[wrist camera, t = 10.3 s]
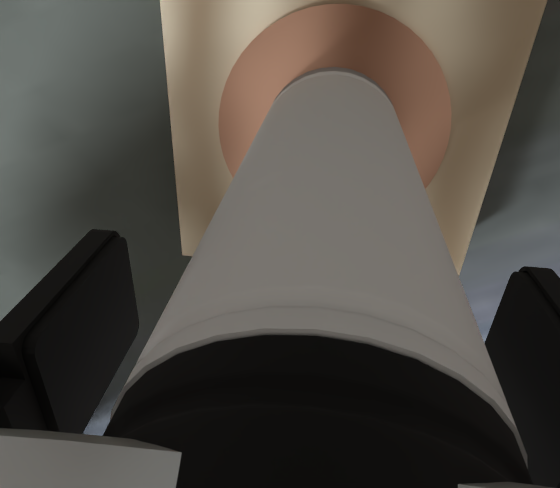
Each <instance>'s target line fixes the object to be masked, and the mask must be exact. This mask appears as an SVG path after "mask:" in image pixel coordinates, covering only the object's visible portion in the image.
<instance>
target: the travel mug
mask: <svg viewBox="0 0 560 488" xmlns="http://www.w3.org/2000/svg"><path fill="white" fill-rule="evenodd" d="M103 436H108V437H117V438H127V439H135V440H138V441H141V442H146V443H150V444H154V445H158V446H161V447H165V448H169V449H172V450H175V451H178V452H182V454H181V460H180V466H179V472H178V477H177V483H176V488H458V484H471V483H495V482H514V483H523V484H530V485H533V482H532V479H531V477H530V474H529V471H528V462H527V453H526V451H525V448H524V445H523V443H522V440H521V438H520V435H519V432H518V430H517V427H516V425H515V422H514V420H513V417H512V415H511V412H510V409H509V407H508V405H507V401H506V399H505V396H504V393H503V391H502V388H501V386H500V383H499V380H498V378H497V375H496V373H495V370H494V367H493V365H492V362H491V360H490V357H489V354H488V352H487V349H486V346H485V344H484V341H483V339H482V336H481V333H480V331H479V328H478V326H477V323H476V320H475V318H474V315H473V313H472V310H471V307H470V305H469V302H468V300H467V297H466V294H465V292H464V289H463V287H462V284H461V281H460V279H459V276H458V274H457V271H456V268H455V266H454V263H453V260H452V258H451V255H450V253H449V250H448V247H447V245H446V242H445V240H444V237H443V234H442V232H441V229H440V227H439V224H438V221H437V219H436V216H435V214H434V211H433V208H432V206H431V203H430V201H429V198H428V195H427V193H426V190H425V188H424V185H423V182H422V180H421V177H420V175H419V172H418V169H417V167H416V164H415V161H414V159H413V156H412V154H411V151H410V148H409V146H408V143H407V141H406V138H405V135H404V133H403V130H402V128H401V125H400V122H399V120H398V117H397V115H396V112H395V109H394V107H393V104H392V102H391V100H390V99H389V97H388V96H387V94H386V93H385V91H384V90H383V89H382V88H381V87H380V86H379V85H378V84H377V83H376V82H375V81H374V80H372V79H371V78H369V77H367V76H366V75H364V74H363V73H360V72H357V71H354V70H352V69H348V68H340V67H326V68H319V69H315V70H312V71H308V72H306V73H304V74H302V75H300V76H298V77H297V78H295V79H294V80H292V81H291V82H290V83H289V84H287V85H286V86H285V87H284V88H283V89H282V91H281V92H280V93H279V94H278V95H277V97H276V98H275V100H274V102H273V104H272V106H271V108H270V110H269V111H268V113H267V115H266V117H265V119H264V121H263V123H262V125H261V127H260V129H259V130H258V132H257V134H256V136H255V138H254V140H253V142H252V144H251V146H250V148H249V149H248V151H247V153H246V155H245V157H244V159H243V161H242V163H241V165H240V167H239V168H238V170H237V172H236V174H235V176H234V178H233V180H232V182H231V184H230V186H229V188H228V189H227V191H226V193H225V195H224V197H223V199H222V201H221V203H220V205H219V207H218V208H217V210H216V212H215V214H214V216H213V218H212V220H211V222H210V224H209V226H208V227H207V229H206V231H205V233H204V235H203V237H202V239H201V241H200V243H199V245H198V246H197V248H196V250H195V252H194V254H193V256H192V258H191V260H190V262H189V264H188V265H187V267H186V269H185V271H184V273H183V275H182V277H181V279H180V281H179V283H178V284H177V286H176V288H175V290H174V292H173V294H172V296H171V298H170V300H169V302H168V304H167V305H166V307H165V309H164V311H163V313H162V315H161V317H160V319H159V321H158V323H157V324H156V326H155V328H154V330H153V332H152V334H151V336H150V338H149V340H148V342H147V343H146V345H145V347H144V349H143V351H142V353H141V355H140V357H139V359H138V361H137V363H136V365H135V367H134V368H133V370H132V372H131V374H130V376H129V378H128V380H127V381H126V383H125V385H124V387H123V389H122V391H121V393H120V395H119V397H118V399H117V401H116V403H115V405H114V406H113V408H112V411H111V418H110V423H109V424H108V426H107V428H106V430H105V432H104V434H103Z"/></svg>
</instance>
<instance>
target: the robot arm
mask: <svg viewBox="0 0 560 488" xmlns="http://www.w3.org/2000/svg"><path fill="white" fill-rule="evenodd" d="M138 328H139V319H138V313H137V306H136V300H135V293H134V287H133V280H132V274H131V267H130V261H129V254H128V248H127V242H126V240H125V238H123V237H120V235H119V234H118V232H116V231H109V230H98V229H92V230H91V231H89V232H88V233H87V234H86V235H85V236H84V237H83V238H82V239H81V240H80V241H79V242H78V244H77V245H76V246H75V247H74V248H73V249H72V250H71V251H70V252H69V253H68V254H67V255H66V256H65V257H64V258H63V259H62V260H61V261H60V262H59V263H58V264H57V265H56V266H55V267H54V268H53V269H52V270H51V271H50V272H49V273H48V274H47V275H46V276H45V277H44V278H43V279H42V280H41V281H40V282H39V283H38V284H37V285H36V286H35V287H34V288H33V289H32V290H31V291H30V292H29V293H28V294H27V295H26V296H25V297H24V298H23V299H22V300H21V301H20V302H19V303H18V304H17V305H16V306H15V307H14V308H13V309H12V310H11V311H10V312H9V313H8V314H7V315H6V316H5V317H4V318H3V319H2V320H1V321H0V488H176V483H177V477H178V472H179V466H180V460H181V454H182V452H178V451H175V450H172V449H169V448H165V447H161V446H158V445H154V444H150V443H146V442H141V441H138V440H135V439H127V438H117V437H108V436H97V435H86V434H82V433H83V431H84V429H85V427H86V426H87V424H88V422H89V420H90V418H91V417H92V415H93V413H94V411H95V409H96V408H97V406H98V404H99V402H100V400H101V398H102V397H103V395H104V393H105V391H106V389H107V388H108V386H109V384H110V382H111V380H112V379H113V377H114V375H115V373H116V371H117V369H118V368H119V366H120V364H121V362H122V360H123V359H124V357H125V355H126V353H127V351H128V350H129V348H130V346H131V344H132V342H133V341H134V339H135V337H136V335H137V332H138ZM485 346H486V349H487V352H488V354H489V357H490V360H491V362H492V365H493V367H494V370H495V373H496V375H497V378H498V380H499V383H500V386H501V388H502V391H503V393H504V396H505V399H506V401H507V405H508V407H509V409H510V412H511V415H512V417H513V420H514V422H515V425H516V427H517V430H518V432H519V435H520V438H521V440H522V443H523V445H524V448H525V451H526V453H527V462H528V471H529V474H530V477H531V479H532V482H533V485H530V484H523V483H514V482H495V483H471V484H458V488H560V278H559V277H558V276H557V274H556V273H555V272H554V271H553V270H552V269H548V268H538V267H526V266H525V267H522V268H521V269H520V270H519V272H513V273H512V274H511V276H510V279H509V281H508V284H507V286H506V289H505V292H504V294H503V297H502V299H501V302H500V305H499V307H498V310H497V312H496V315H495V318H494V320H493V323H492V325H491V328H490V331H489V333H488V336H487V338H486V341H485Z"/></svg>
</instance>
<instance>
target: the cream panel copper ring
mask: <svg viewBox="0 0 560 488" xmlns="http://www.w3.org/2000/svg"><path fill="white" fill-rule="evenodd" d="M546 3H547V0H160V7H161V18H162V30H163V41H164V52H165V64H166V75H167V86H168V98H169V109H170V121H171V132H172V143H173V155H174V166H175V177H176V189H177V200H178V211H179V223H180V234H181V245H182V255H185V256H193V254H194V252H195V250H196V248H197V246H198V245H199V243H200V241H201V239H202V237H203V235H204V233H205V231H206V229H207V227H208V226H209V224H210V222H211V220H212V218H213V216H214V214H215V212H216V210H217V208H218V207H219V205H220V203H221V201H222V199H223V197H224V195H225V193H226V191H227V189H228V188H229V186H230V184H231V182H232V180H233V178H234V176H235V174H236V172H237V170H238V168H239V167H240V165H241V163H242V161H243V159H244V157H245V155H246V153H247V151H248V149H249V148H250V146H251V144H252V142H253V140H254V138H255V136H256V134H257V132H258V130H259V129H260V127H261V125H262V123H263V121H264V119H265V117H266V115H267V113H268V111H269V110H270V108H271V106H272V104H273V102H274V100H275V98H276V97H277V95H278V94H279V93H280V92H281V91H282V89H283V88H284V87H285V86H286V85H287V84H289V83H290V82H291V81H292V80H294V79H295V78H297V77H298V76H300V75H302V74H304V73H306V72H308V71H312V70H315V69H319V68H326V67H340V68H348V69H352V70H354V71H357V72H360V73H363V74H364V75H366V76H367V77H369V78H371V79H372V80H374V81H375V82H376V83H377V84H378V85H379V86H380V87H381V88H382V89H383V90H384V91H385V93H386V94H387V96H388V97H389V99H390V100H391V102H392V104H393V107H394V109H395V112H396V115H397V117H398V120H399V122H400V125H401V128H402V130H403V133H404V135H405V138H406V141H407V143H408V146H409V148H410V151H411V154H412V156H413V159H414V161H415V164H416V167H417V169H418V172H419V175H420V177H421V180H422V182H423V185H424V188H425V190H426V193H427V195H428V198H429V201H430V203H431V206H432V208H433V211H434V214H435V216H436V219H437V221H438V224H439V227H440V229H441V232H442V234H443V237H444V240H445V242H446V245H447V247H448V250H449V253H450V255H451V258H452V260H453V263H454V266H455V268H456V271H457V274H458V276H459V274H460V271H461V268H462V265H463V262H464V259H465V255H466V252H467V249H468V246H469V243H470V240H471V237H472V234H473V230H474V227H475V224H476V221H477V218H478V215H479V212H480V209H481V206H482V202H483V199H484V196H485V193H486V190H487V187H488V184H489V181H490V178H491V174H492V171H493V168H494V165H495V162H496V159H497V156H498V153H499V149H500V146H501V143H502V140H503V137H504V134H505V131H506V128H507V125H508V121H509V118H510V115H511V112H512V109H513V106H514V103H515V100H516V97H517V93H518V90H519V87H520V84H521V81H522V78H523V75H524V72H525V68H526V65H527V62H528V59H529V56H530V53H531V50H532V47H533V44H534V40H535V37H536V34H537V31H538V28H539V25H540V22H541V19H542V15H543V12H544V9H545V6H546Z"/></svg>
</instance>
